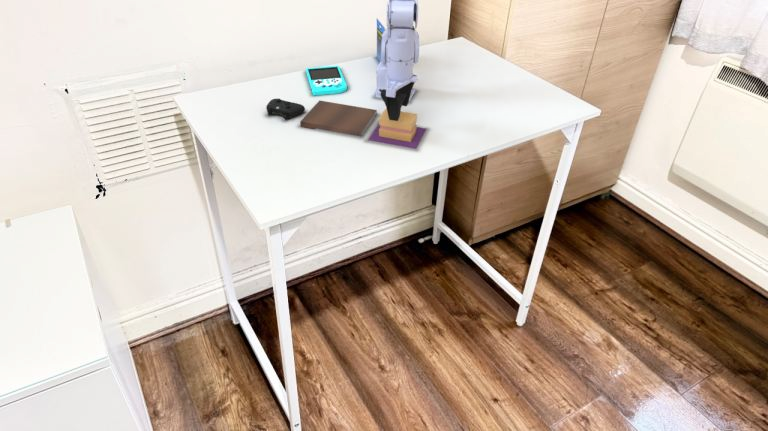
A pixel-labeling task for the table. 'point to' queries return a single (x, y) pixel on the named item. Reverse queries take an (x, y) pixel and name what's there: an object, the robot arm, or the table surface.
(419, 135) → the felt cloth
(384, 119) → the sandwich
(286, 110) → the gaming controller
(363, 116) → the cutting board
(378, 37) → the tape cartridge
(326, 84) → the handheld game console
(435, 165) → the table surface
